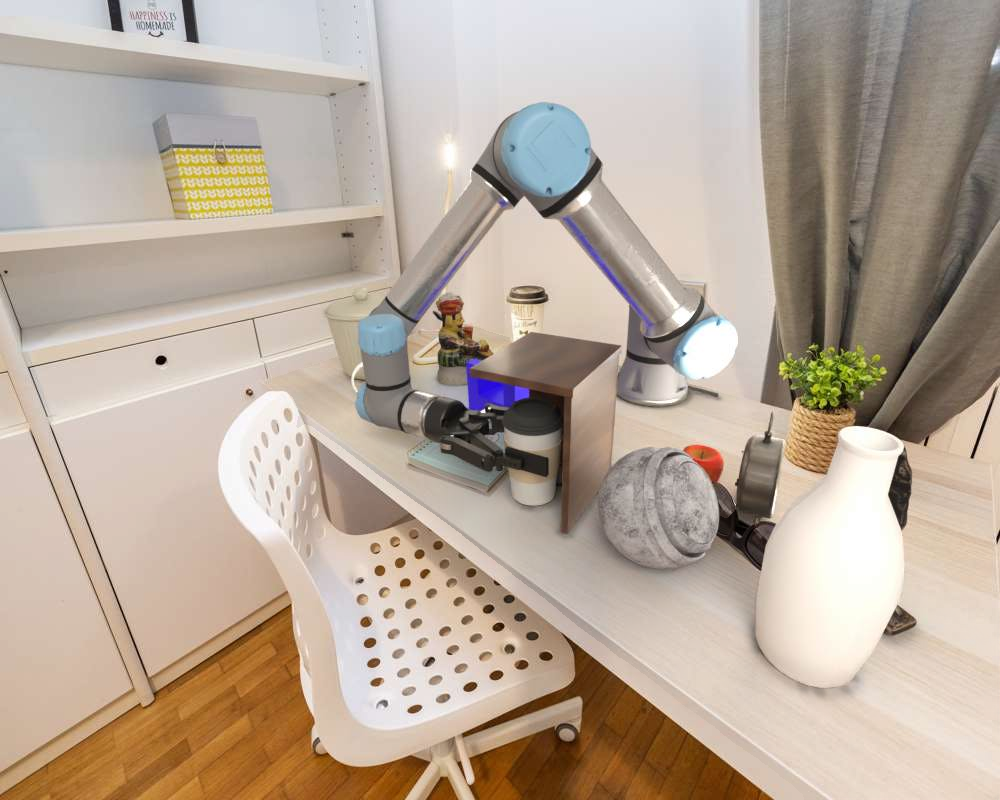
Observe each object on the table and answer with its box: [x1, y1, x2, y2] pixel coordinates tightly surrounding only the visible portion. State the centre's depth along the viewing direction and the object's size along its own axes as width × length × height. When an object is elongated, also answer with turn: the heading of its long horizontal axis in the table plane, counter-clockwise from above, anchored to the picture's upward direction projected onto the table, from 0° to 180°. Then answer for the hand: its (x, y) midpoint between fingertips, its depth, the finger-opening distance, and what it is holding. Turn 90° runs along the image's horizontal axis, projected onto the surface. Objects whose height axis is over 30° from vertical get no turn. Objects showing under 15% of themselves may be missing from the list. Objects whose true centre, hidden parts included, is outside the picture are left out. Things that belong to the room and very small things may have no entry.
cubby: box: [469, 331, 623, 535], centre depth 76 cm, size 15×18×22 cm
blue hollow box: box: [466, 359, 529, 411], centre depth 107 cm, size 21×14×10 cm, turn 134°
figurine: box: [432, 292, 494, 386], centre depth 119 cm, size 12×15×20 cm
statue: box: [884, 444, 918, 636], centre depth 53 cm, size 4×7×20 cm, turn 22°
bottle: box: [754, 425, 906, 689], centre depth 48 cm, size 11×11×25 cm
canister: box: [322, 287, 387, 381], centre depth 123 cm, size 18×18×21 cm
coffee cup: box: [502, 397, 564, 507], centre depth 76 cm, size 9×9×15 cm
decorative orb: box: [597, 446, 720, 570], centre depth 64 cm, size 15×14×15 cm
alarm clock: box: [734, 411, 786, 525], centre depth 71 cm, size 11×5×16 cm, turn 148°
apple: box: [682, 444, 725, 484], centre depth 77 cm, size 6×6×8 cm
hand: (561, 452), depth 74 cm, fingers closed on coffee cup, 9 cm apart
